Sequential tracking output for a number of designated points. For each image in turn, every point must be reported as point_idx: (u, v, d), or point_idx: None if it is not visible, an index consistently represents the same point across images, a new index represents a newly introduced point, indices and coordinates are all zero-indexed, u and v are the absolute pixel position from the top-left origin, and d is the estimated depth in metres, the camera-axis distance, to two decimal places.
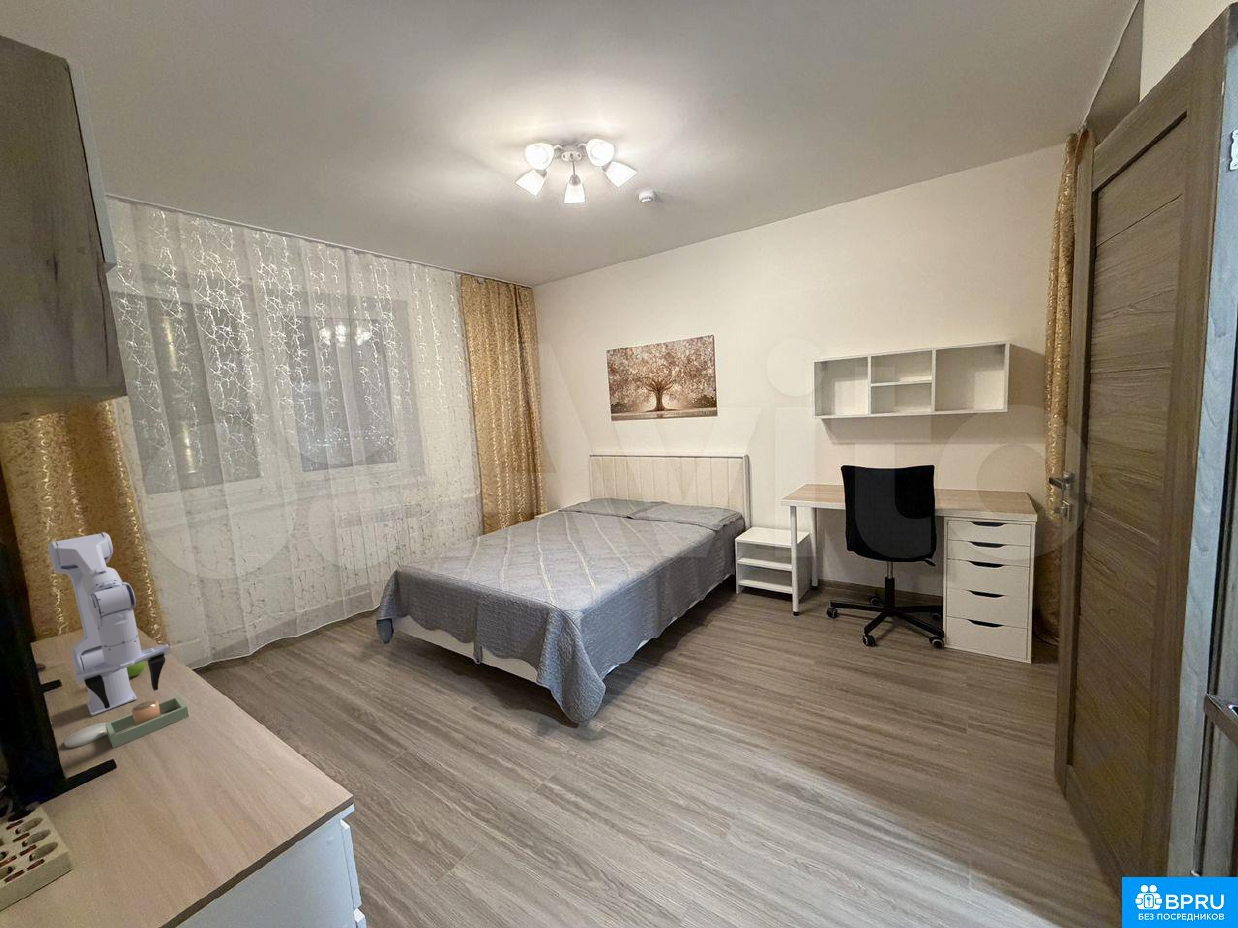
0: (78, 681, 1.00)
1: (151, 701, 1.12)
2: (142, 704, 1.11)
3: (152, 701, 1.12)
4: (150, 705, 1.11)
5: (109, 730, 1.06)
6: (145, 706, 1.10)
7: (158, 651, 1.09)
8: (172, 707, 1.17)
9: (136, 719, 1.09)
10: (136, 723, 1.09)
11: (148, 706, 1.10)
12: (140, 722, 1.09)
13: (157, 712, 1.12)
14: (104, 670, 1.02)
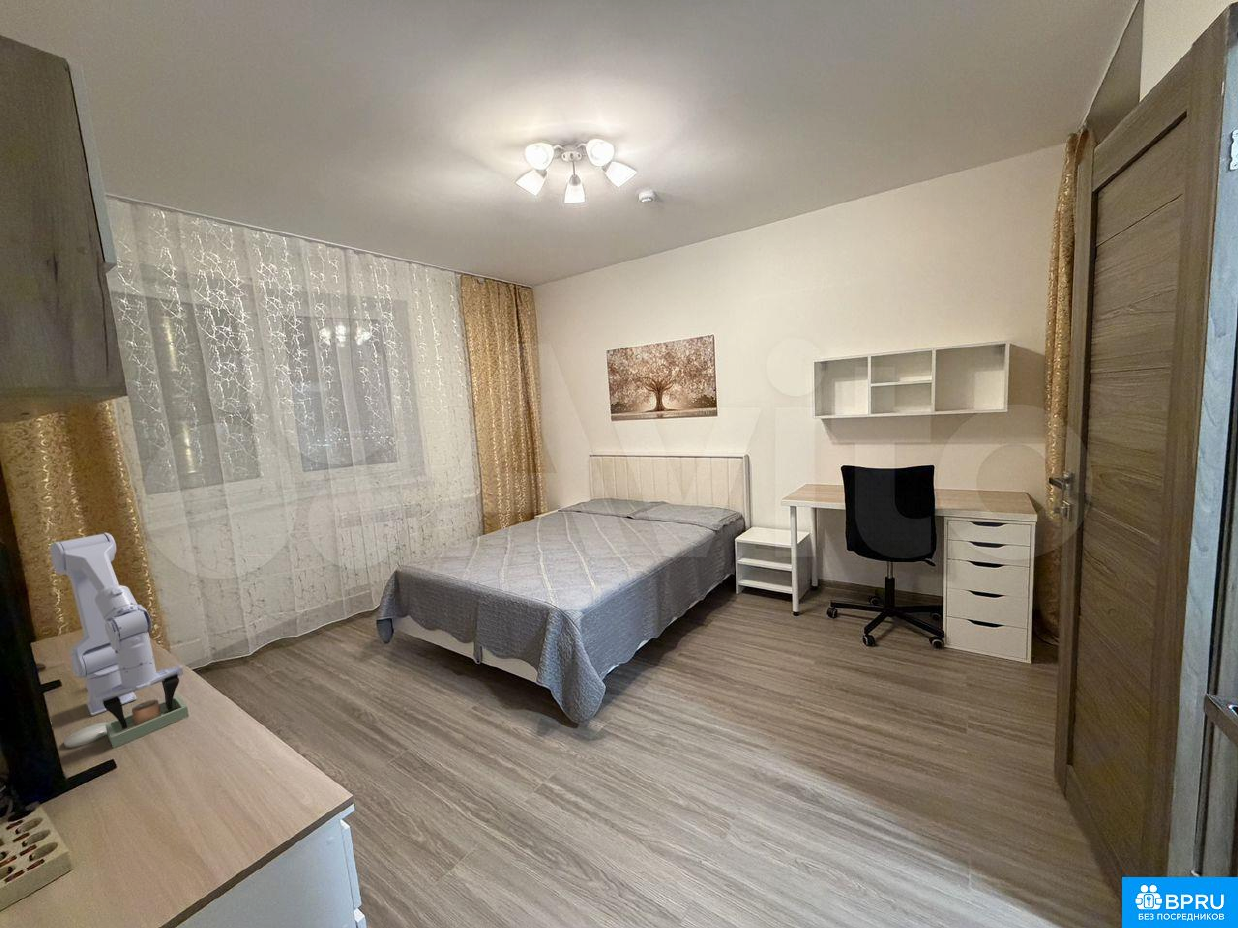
0: (97, 703, 1.04)
1: (151, 701, 1.12)
2: (142, 704, 1.11)
3: (152, 701, 1.12)
4: (150, 705, 1.11)
5: (109, 730, 1.06)
6: (145, 706, 1.10)
7: (172, 672, 1.14)
8: (172, 707, 1.17)
9: (136, 719, 1.09)
10: (136, 723, 1.09)
11: (148, 706, 1.10)
12: (140, 722, 1.09)
13: (157, 712, 1.12)
14: (121, 692, 1.06)
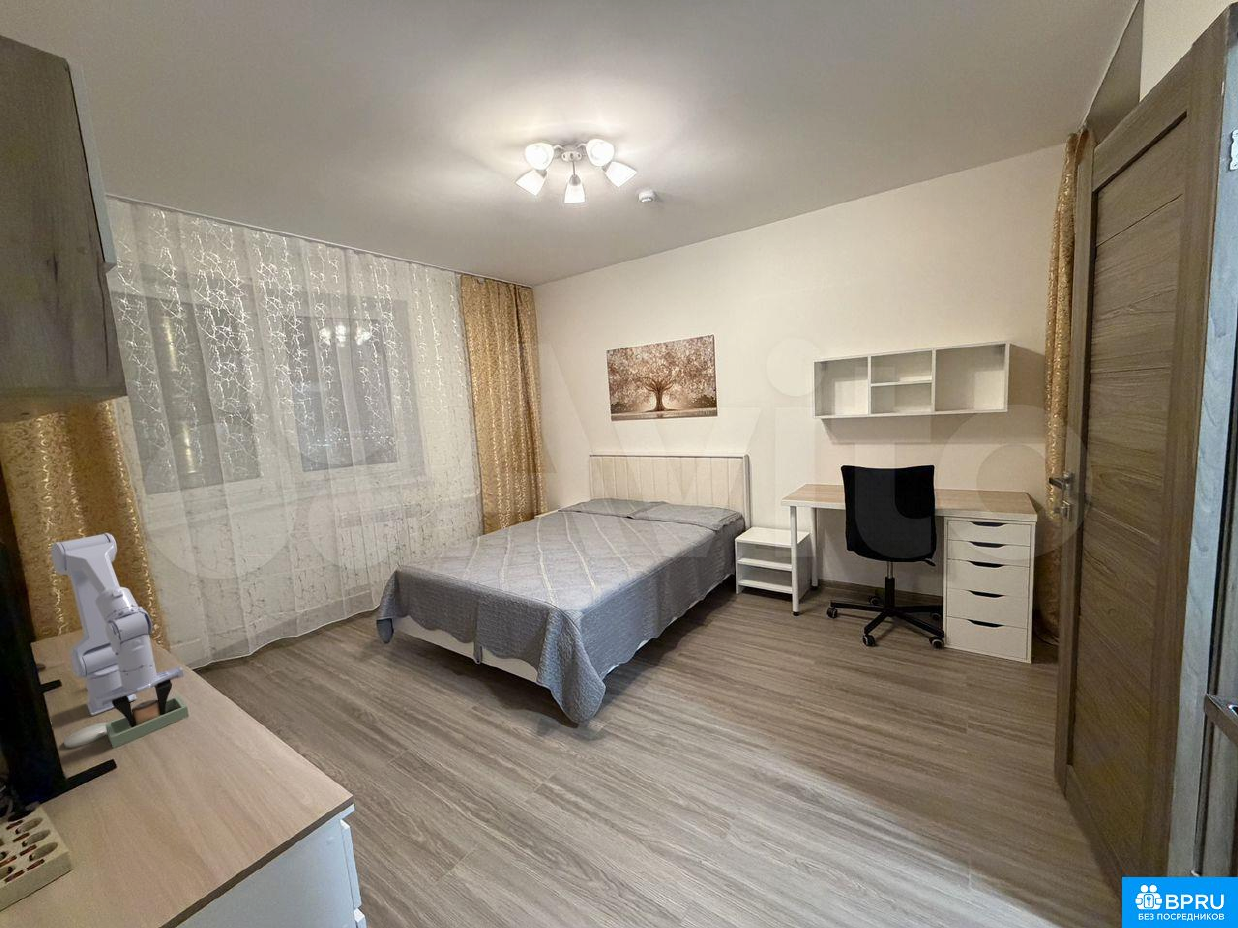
0: (97, 705, 1.04)
1: (151, 701, 1.12)
2: (142, 704, 1.11)
3: (152, 701, 1.12)
4: (150, 705, 1.11)
5: (109, 730, 1.06)
6: (145, 706, 1.10)
7: (172, 674, 1.14)
8: (172, 707, 1.17)
9: (136, 719, 1.09)
10: (136, 723, 1.09)
11: (148, 706, 1.10)
12: (140, 722, 1.09)
13: (157, 712, 1.12)
14: (122, 694, 1.06)
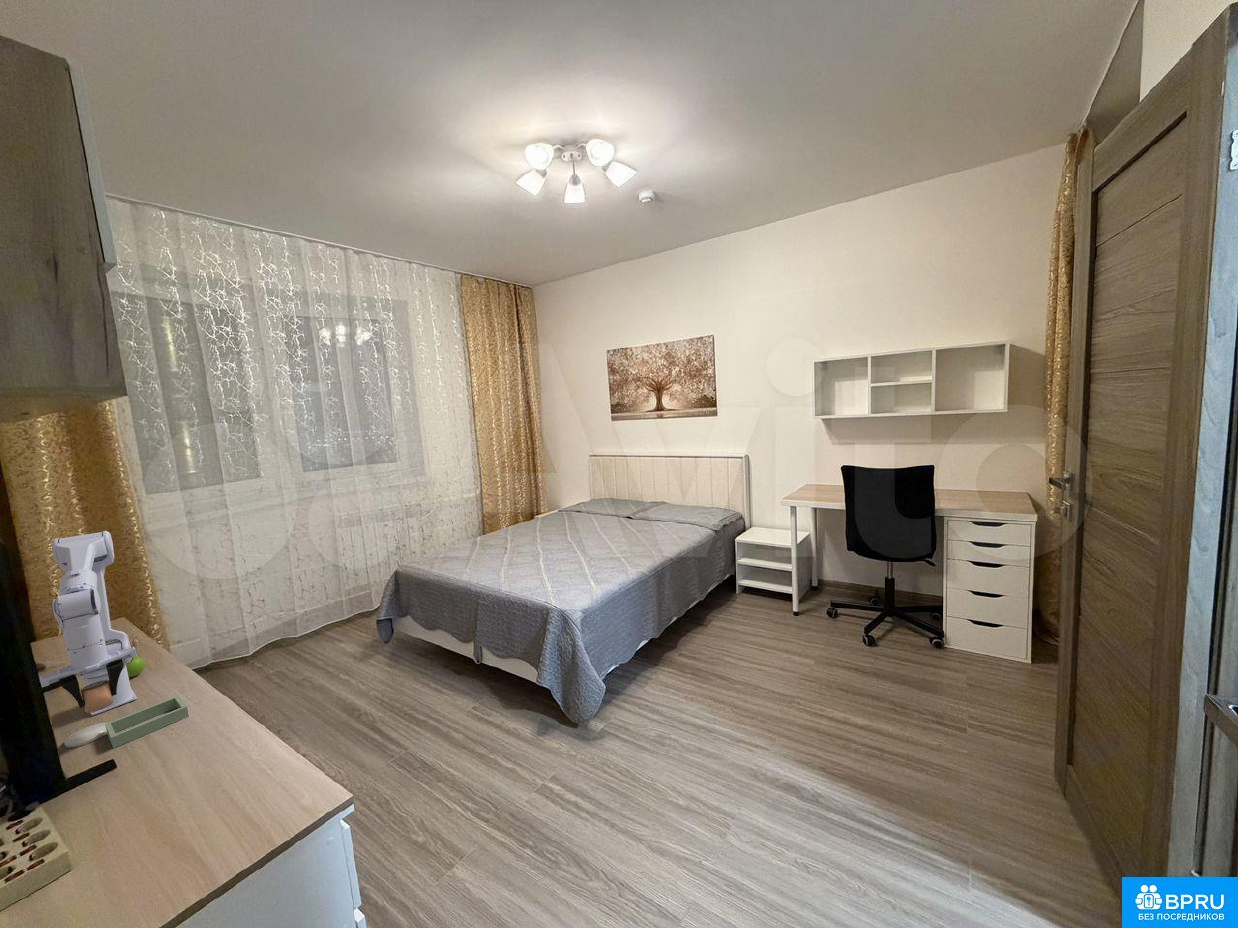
0: (43, 684, 1.01)
1: (102, 681, 1.09)
2: (92, 684, 1.08)
3: (103, 681, 1.09)
4: (101, 685, 1.08)
5: (109, 730, 1.06)
6: (96, 686, 1.07)
7: (124, 654, 1.11)
8: (172, 707, 1.17)
9: (86, 699, 1.06)
10: (86, 703, 1.06)
11: (99, 686, 1.08)
12: (91, 702, 1.06)
13: (109, 692, 1.09)
14: (69, 673, 1.04)
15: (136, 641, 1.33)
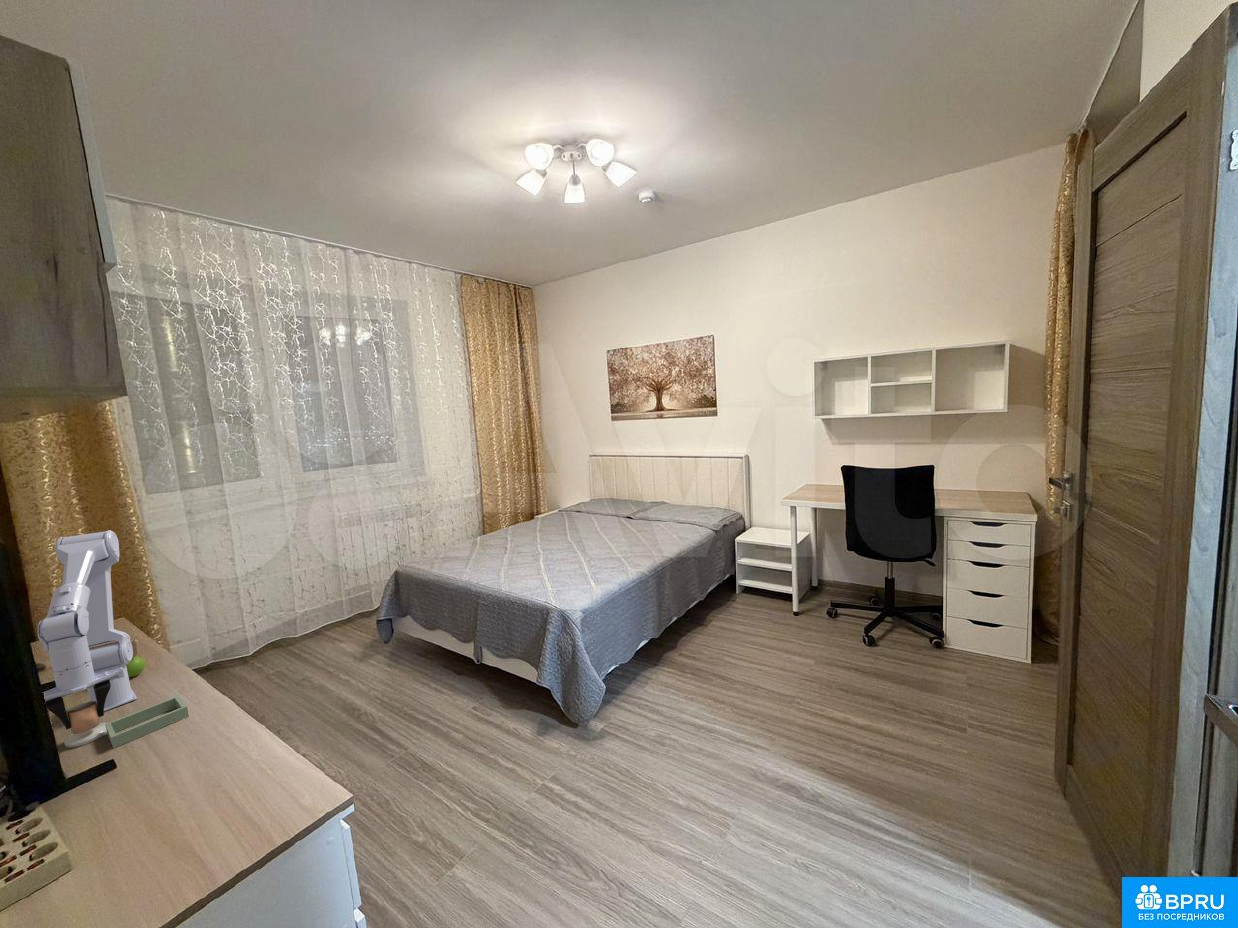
0: None
1: (89, 703, 1.09)
2: (79, 706, 1.08)
3: (90, 702, 1.09)
4: (88, 706, 1.08)
5: (109, 730, 1.06)
6: (82, 708, 1.07)
7: (112, 674, 1.11)
8: (172, 707, 1.17)
9: (72, 721, 1.06)
10: (72, 725, 1.06)
11: (86, 707, 1.07)
12: (77, 724, 1.06)
13: (95, 713, 1.08)
14: (55, 695, 1.03)
15: (136, 641, 1.33)
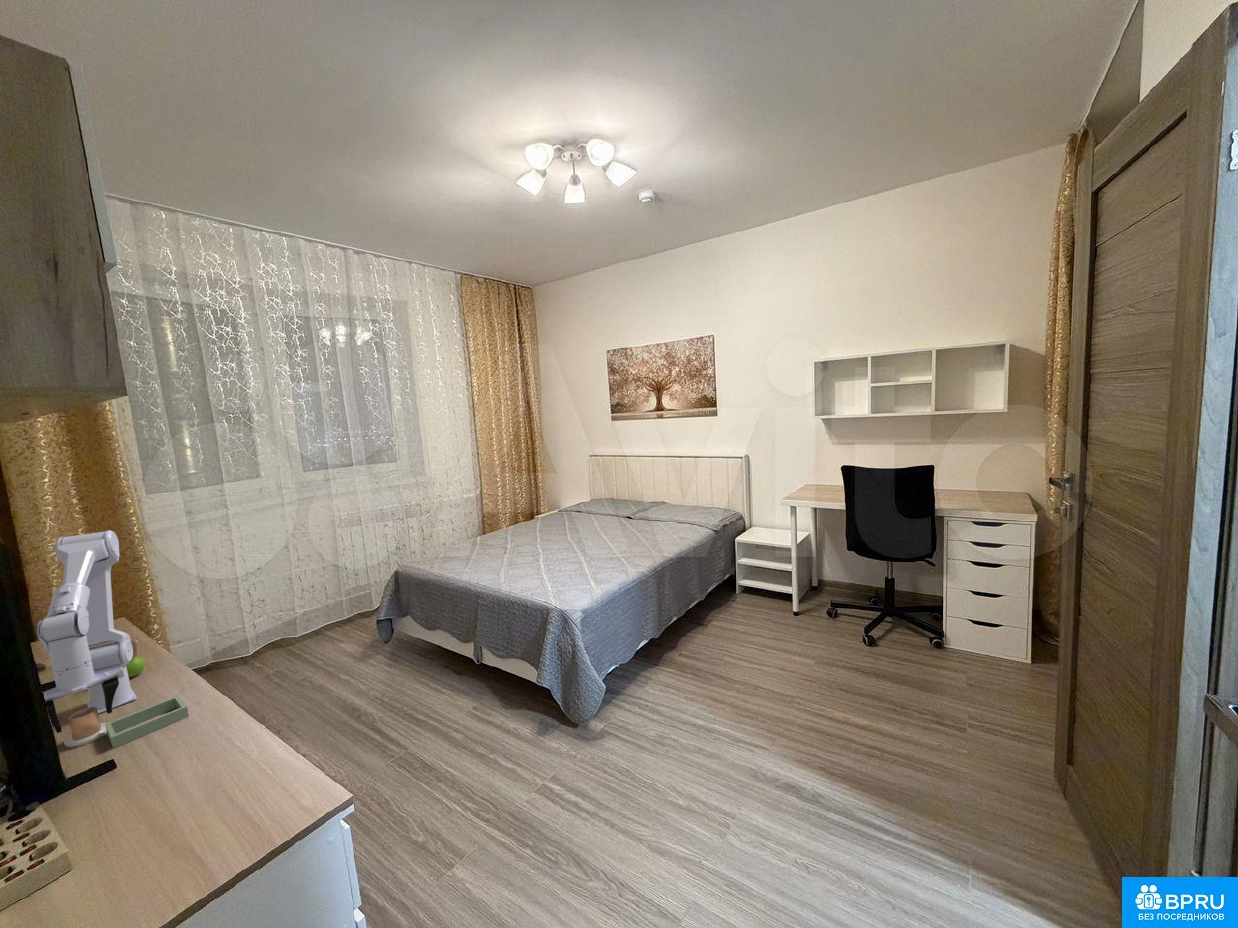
0: None
1: (89, 708, 1.09)
2: (79, 712, 1.08)
3: (90, 708, 1.09)
4: (89, 712, 1.08)
5: (109, 730, 1.06)
6: (83, 714, 1.07)
7: (112, 674, 1.11)
8: (172, 707, 1.17)
9: (73, 727, 1.06)
10: (73, 731, 1.06)
11: (86, 713, 1.07)
12: (78, 730, 1.06)
13: (96, 719, 1.09)
14: (55, 695, 1.03)
15: (136, 641, 1.33)
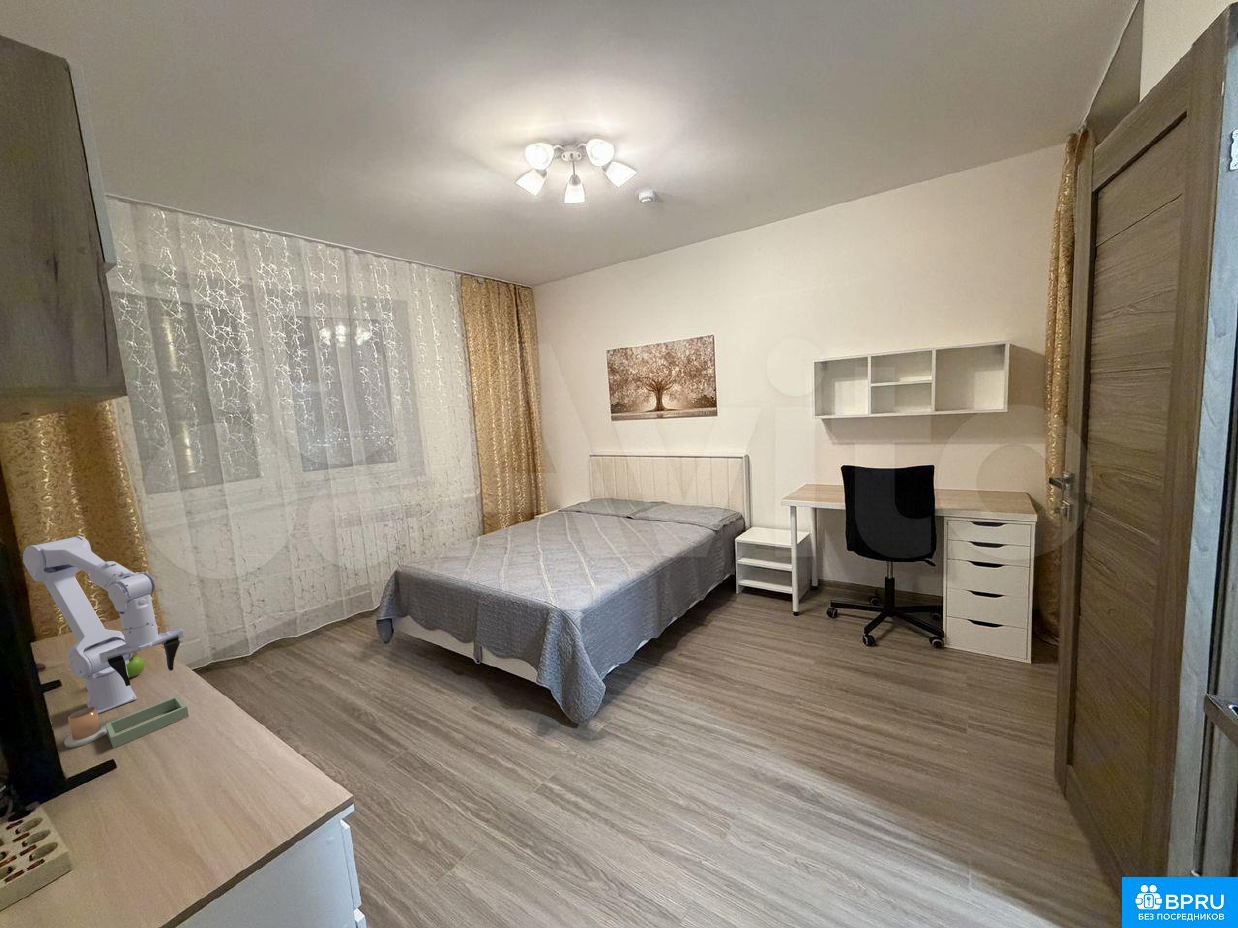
0: (102, 660, 1.10)
1: (89, 708, 1.09)
2: (79, 712, 1.08)
3: (90, 708, 1.09)
4: (89, 712, 1.08)
5: (109, 730, 1.06)
6: (83, 714, 1.07)
7: (173, 634, 1.19)
8: (172, 707, 1.17)
9: (73, 727, 1.06)
10: (73, 731, 1.06)
11: (86, 713, 1.07)
12: (78, 730, 1.06)
13: (96, 719, 1.09)
14: (125, 651, 1.12)
15: None
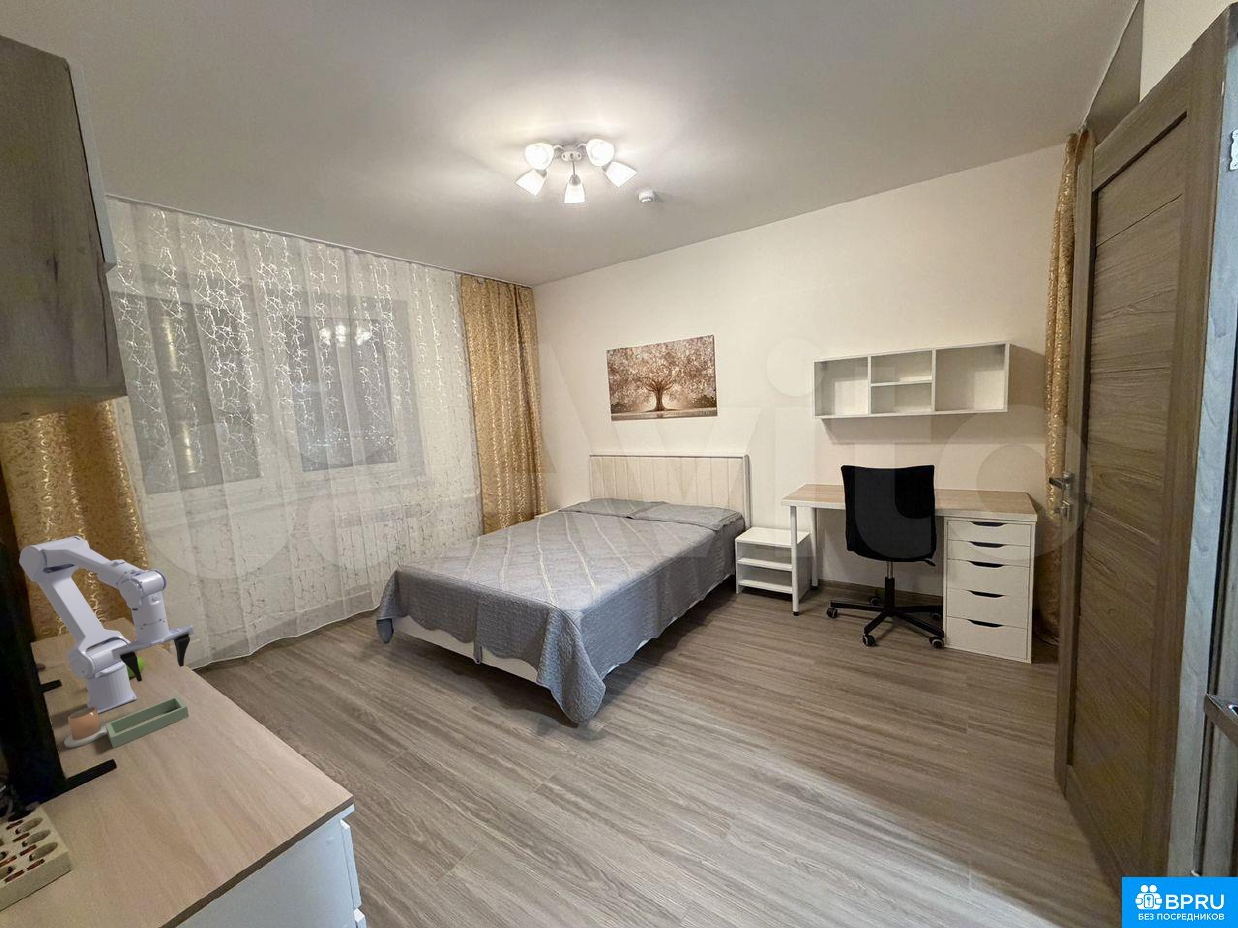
0: (114, 656, 1.12)
1: (89, 708, 1.09)
2: (79, 712, 1.08)
3: (90, 708, 1.09)
4: (89, 712, 1.08)
5: (109, 730, 1.06)
6: (83, 714, 1.07)
7: (184, 631, 1.21)
8: (172, 707, 1.17)
9: (73, 727, 1.06)
10: (73, 731, 1.06)
11: (86, 713, 1.07)
12: (78, 730, 1.06)
13: (96, 719, 1.09)
14: (137, 647, 1.14)
15: None
